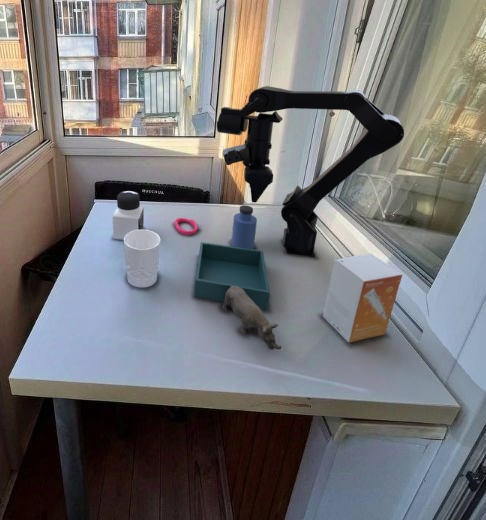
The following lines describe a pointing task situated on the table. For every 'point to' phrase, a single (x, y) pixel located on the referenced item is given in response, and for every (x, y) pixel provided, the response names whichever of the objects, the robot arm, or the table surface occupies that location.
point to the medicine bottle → (127, 214)
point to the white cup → (142, 257)
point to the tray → (231, 273)
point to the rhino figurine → (250, 315)
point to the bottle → (244, 228)
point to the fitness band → (188, 222)
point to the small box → (361, 296)
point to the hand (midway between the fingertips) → (252, 194)
